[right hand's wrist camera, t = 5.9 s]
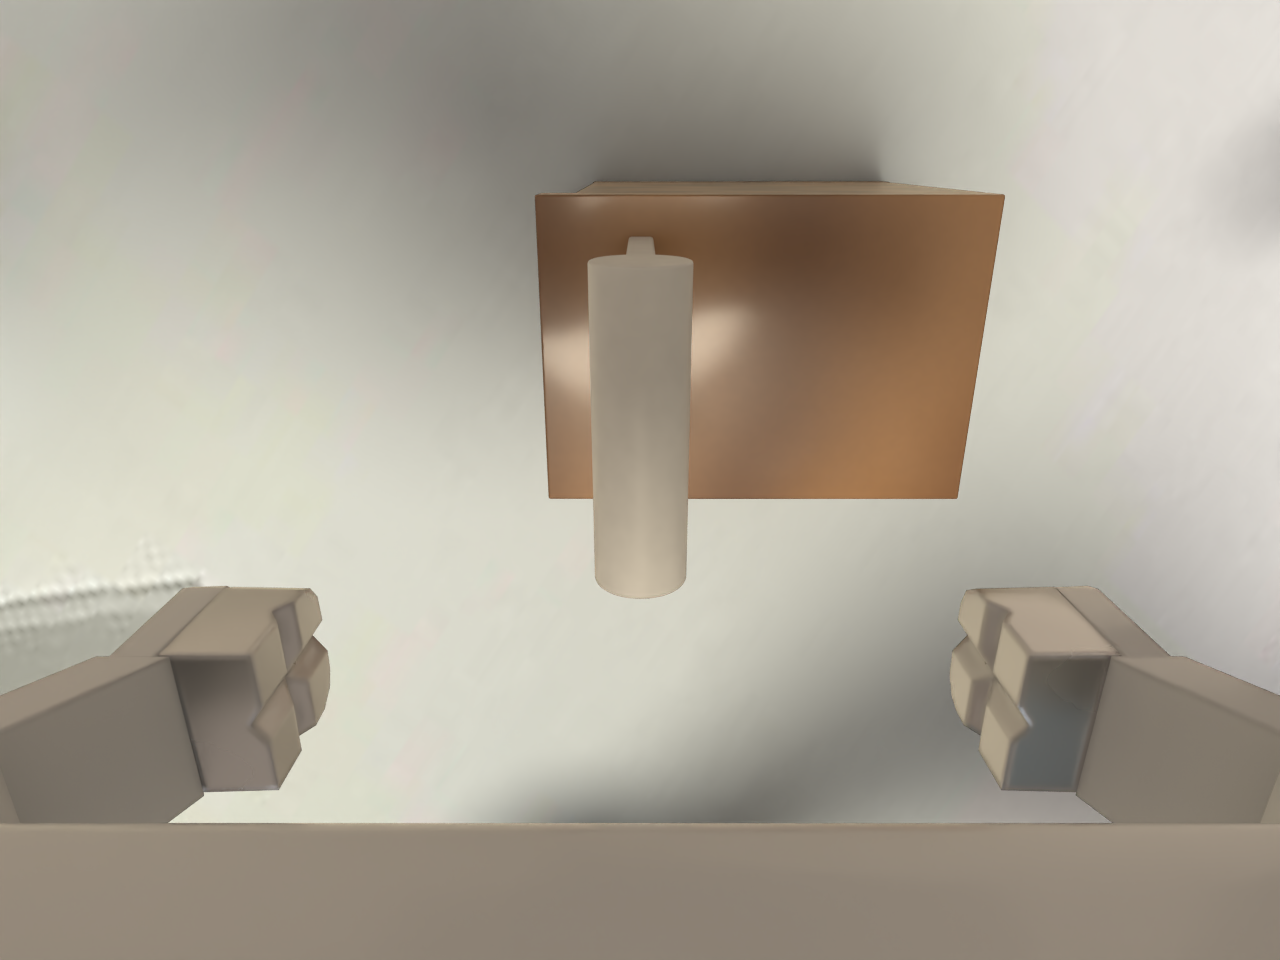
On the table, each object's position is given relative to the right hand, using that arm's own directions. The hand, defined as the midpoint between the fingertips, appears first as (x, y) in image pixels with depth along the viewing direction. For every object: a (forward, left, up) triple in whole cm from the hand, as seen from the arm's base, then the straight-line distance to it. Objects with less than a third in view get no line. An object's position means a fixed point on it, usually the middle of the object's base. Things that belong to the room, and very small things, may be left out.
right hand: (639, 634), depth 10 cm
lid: (+3, +3, -16) cm, 17 cm away
